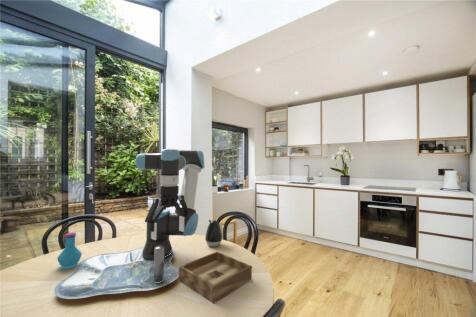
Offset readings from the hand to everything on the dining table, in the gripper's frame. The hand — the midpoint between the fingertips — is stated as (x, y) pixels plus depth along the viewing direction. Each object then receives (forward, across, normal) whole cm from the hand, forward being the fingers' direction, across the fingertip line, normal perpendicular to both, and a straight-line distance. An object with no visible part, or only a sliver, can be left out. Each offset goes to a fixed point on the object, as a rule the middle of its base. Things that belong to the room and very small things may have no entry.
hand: (168, 234), depth 94 cm
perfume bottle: (+20, -23, +46) cm, 55 cm away
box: (+19, +13, -16) cm, 28 cm away
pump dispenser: (+20, +41, +13) cm, 47 cm away
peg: (+19, -3, +2) cm, 20 cm away
